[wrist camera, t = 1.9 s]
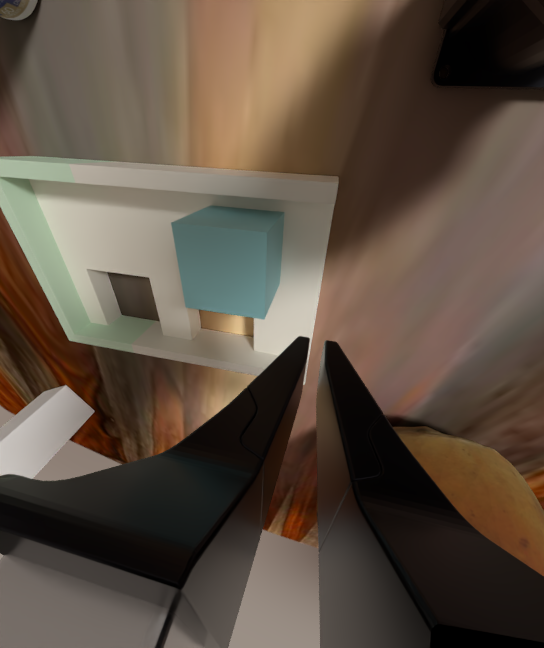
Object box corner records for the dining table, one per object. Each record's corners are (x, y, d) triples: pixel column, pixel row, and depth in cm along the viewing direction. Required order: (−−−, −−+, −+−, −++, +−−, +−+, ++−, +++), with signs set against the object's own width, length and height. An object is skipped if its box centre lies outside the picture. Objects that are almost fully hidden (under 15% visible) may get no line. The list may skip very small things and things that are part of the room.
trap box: (338, 176, 16) (338, 183, 13) (309, 354, 25) (304, 384, 22) (34, 156, 20) (-25, 157, 16) (100, 318, 28) (69, 340, 25)
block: (284, 212, 16) (267, 232, 12) (279, 283, 19) (264, 319, 15) (210, 205, 17) (171, 222, 13) (216, 275, 20) (185, 307, 16)
